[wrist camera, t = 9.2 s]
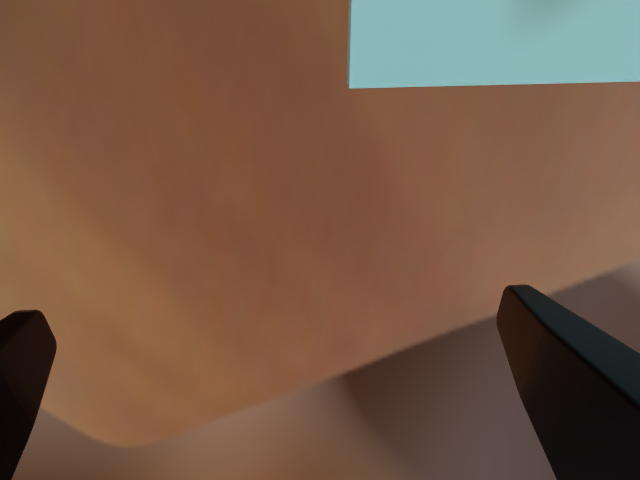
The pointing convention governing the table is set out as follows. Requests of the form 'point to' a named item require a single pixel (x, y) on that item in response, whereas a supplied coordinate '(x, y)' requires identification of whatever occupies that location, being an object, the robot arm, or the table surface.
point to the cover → (491, 42)
